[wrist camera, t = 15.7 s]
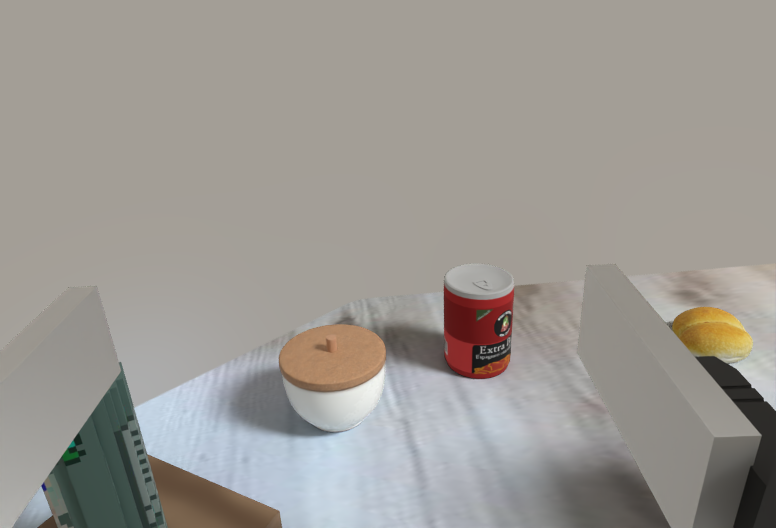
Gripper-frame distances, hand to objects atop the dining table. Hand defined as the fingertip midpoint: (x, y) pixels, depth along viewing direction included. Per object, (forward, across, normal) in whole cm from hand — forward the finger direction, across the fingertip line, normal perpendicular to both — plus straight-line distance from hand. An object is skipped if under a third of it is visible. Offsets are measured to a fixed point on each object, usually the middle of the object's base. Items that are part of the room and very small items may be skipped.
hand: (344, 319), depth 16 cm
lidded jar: (+36, -5, -32) cm, 49 cm away
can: (+16, -19, -28) cm, 38 cm away
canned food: (+44, +11, -32) cm, 56 cm away
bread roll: (+46, +39, -32) cm, 68 cm away
